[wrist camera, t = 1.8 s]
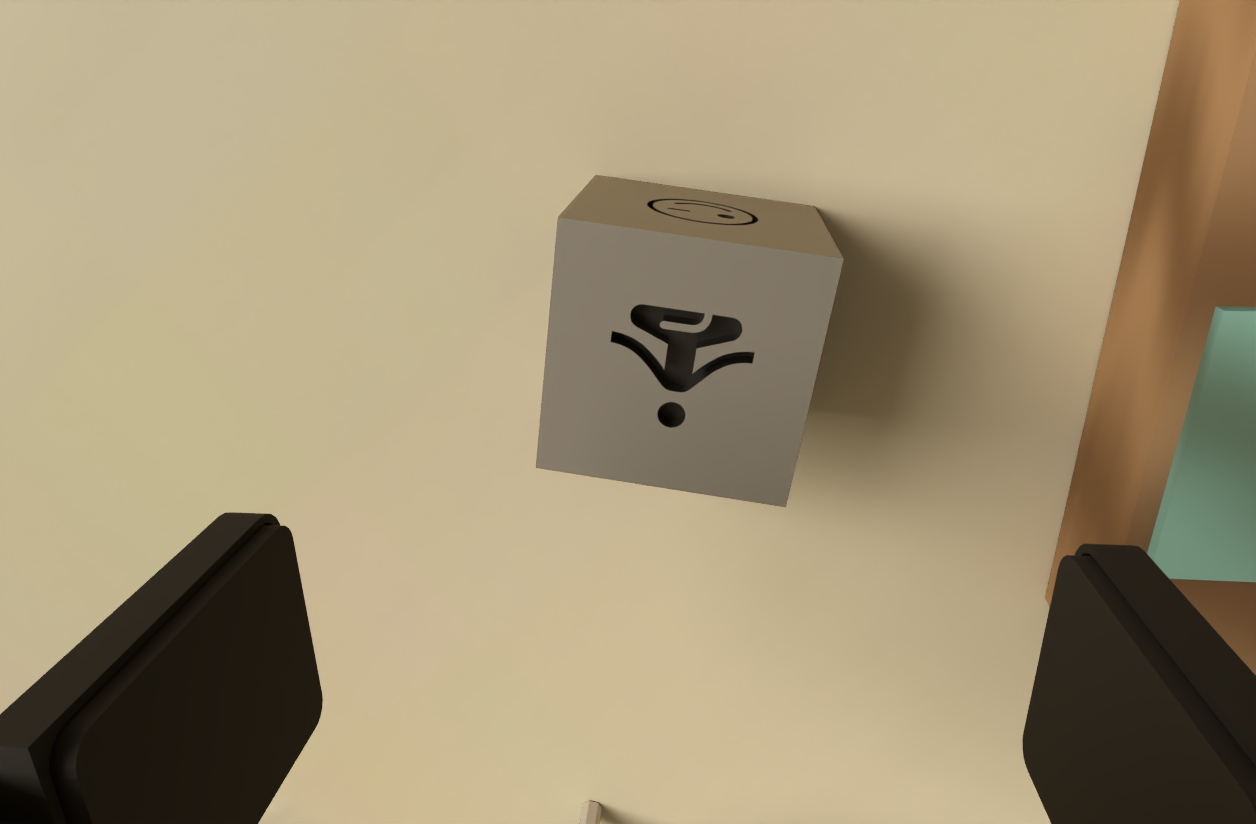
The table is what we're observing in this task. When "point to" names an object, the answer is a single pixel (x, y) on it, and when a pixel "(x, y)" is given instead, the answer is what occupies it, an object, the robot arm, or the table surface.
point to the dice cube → (684, 338)
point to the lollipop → (590, 813)
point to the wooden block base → (1185, 340)
